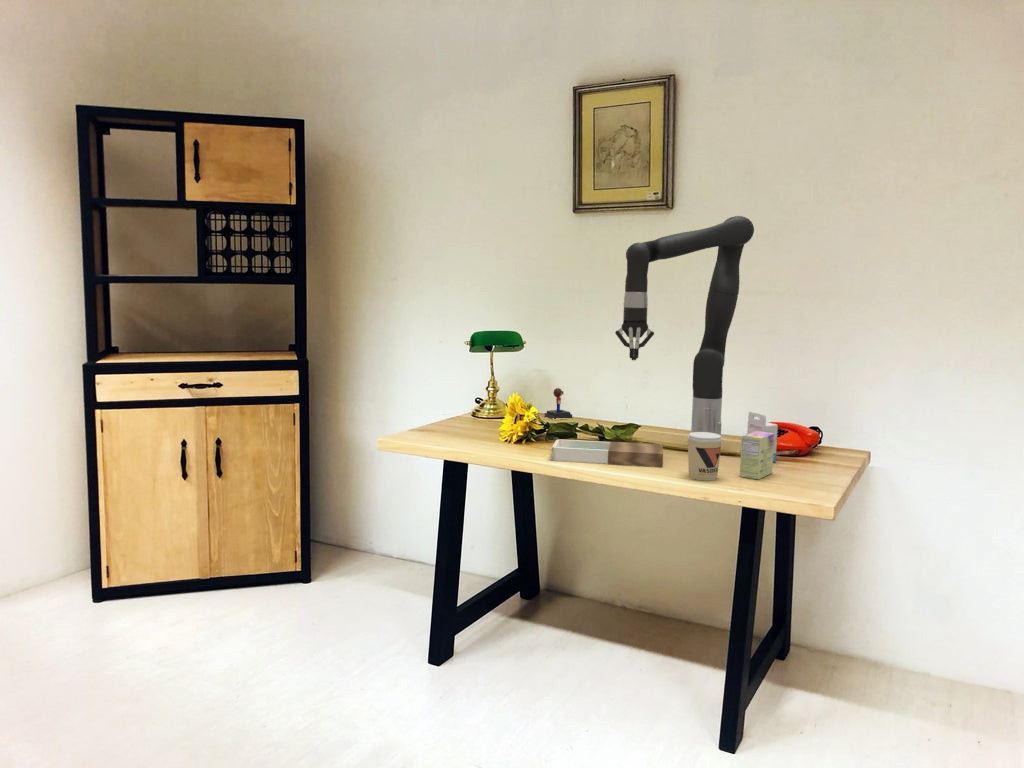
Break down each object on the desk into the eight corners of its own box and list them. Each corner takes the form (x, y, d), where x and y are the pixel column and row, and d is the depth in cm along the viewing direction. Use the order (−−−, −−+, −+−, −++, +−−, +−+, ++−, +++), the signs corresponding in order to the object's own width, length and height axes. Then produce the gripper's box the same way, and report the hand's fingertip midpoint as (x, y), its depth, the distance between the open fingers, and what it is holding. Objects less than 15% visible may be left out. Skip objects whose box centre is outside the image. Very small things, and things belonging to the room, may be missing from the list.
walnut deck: (661, 456, 238) (662, 444, 237) (662, 467, 224) (663, 453, 223) (610, 454, 240) (610, 441, 240) (607, 464, 227) (608, 450, 226)
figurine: (572, 418, 304) (573, 388, 302) (554, 420, 300) (555, 389, 298) (562, 415, 310) (562, 386, 309) (544, 417, 306) (545, 387, 305)
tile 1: (569, 446, 238) (569, 452, 239) (567, 449, 234) (567, 456, 234) (585, 447, 238) (585, 453, 238) (583, 450, 233) (583, 457, 233)
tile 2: (603, 454, 237) (603, 448, 237) (602, 458, 232) (602, 451, 232) (587, 453, 238) (587, 447, 238) (586, 457, 233) (586, 450, 233)
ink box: (776, 462, 232) (779, 414, 230) (763, 463, 230) (766, 415, 228) (758, 456, 240) (760, 410, 238) (745, 457, 238) (747, 411, 236)
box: (753, 470, 222) (755, 430, 221) (772, 473, 219) (774, 433, 217) (738, 476, 214) (740, 435, 213) (758, 480, 211) (760, 438, 209)
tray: (610, 454, 240) (610, 441, 239) (607, 463, 227) (608, 450, 227) (556, 451, 243) (556, 439, 242) (551, 460, 230) (551, 447, 230)
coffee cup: (696, 482, 207) (698, 438, 206) (679, 473, 216) (681, 432, 215) (726, 480, 210) (728, 437, 208) (709, 472, 219) (711, 431, 217)
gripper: (656, 306, 247) (654, 359, 249) (615, 305, 249) (613, 358, 251) (656, 307, 239) (654, 361, 241) (614, 306, 242) (612, 360, 244)
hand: (633, 360), depth 246 cm, fingers closed
